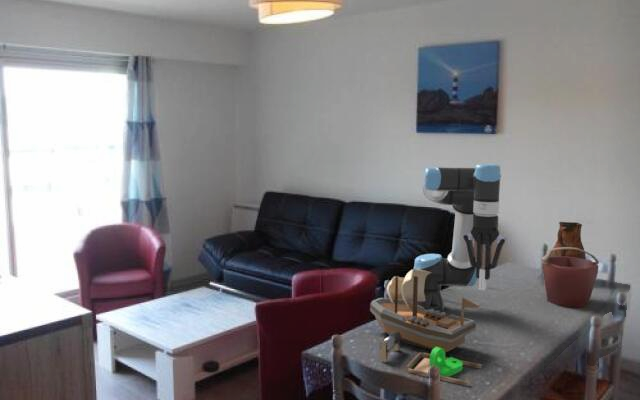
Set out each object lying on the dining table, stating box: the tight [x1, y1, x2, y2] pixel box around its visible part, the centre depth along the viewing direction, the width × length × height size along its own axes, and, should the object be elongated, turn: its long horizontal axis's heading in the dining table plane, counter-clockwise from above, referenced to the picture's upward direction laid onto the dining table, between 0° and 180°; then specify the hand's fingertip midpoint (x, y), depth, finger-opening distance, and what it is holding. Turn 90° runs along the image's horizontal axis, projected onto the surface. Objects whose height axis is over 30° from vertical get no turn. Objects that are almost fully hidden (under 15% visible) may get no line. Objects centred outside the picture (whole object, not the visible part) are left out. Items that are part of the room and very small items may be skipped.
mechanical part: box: [429, 347, 464, 378], centre depth 188 cm, size 12×6×8 cm, turn 131°
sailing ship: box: [369, 268, 481, 353], centre depth 210 cm, size 16×45×27 cm, turn 47°
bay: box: [405, 351, 482, 387], centre depth 189 cm, size 21×15×2 cm
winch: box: [379, 330, 402, 363], centre depth 200 cm, size 4×13×7 cm, turn 151°
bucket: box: [540, 247, 600, 309], centre depth 259 cm, size 24×22×25 cm
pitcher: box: [550, 221, 587, 259], centre depth 291 cm, size 17×21×30 cm
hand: (482, 288), depth 180 cm, fingers closed
